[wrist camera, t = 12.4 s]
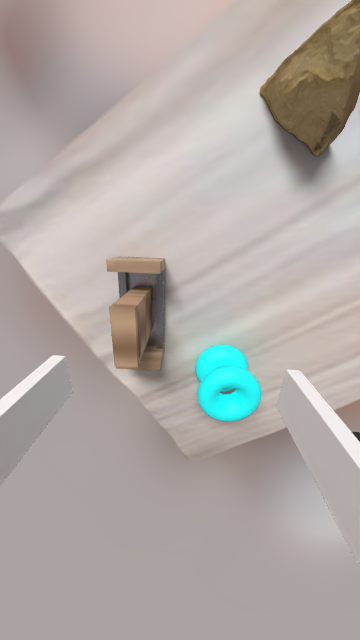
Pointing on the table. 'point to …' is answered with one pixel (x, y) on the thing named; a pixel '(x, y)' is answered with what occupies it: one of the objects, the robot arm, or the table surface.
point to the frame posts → (141, 265)
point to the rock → (319, 81)
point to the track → (157, 283)
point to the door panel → (131, 325)
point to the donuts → (226, 384)
